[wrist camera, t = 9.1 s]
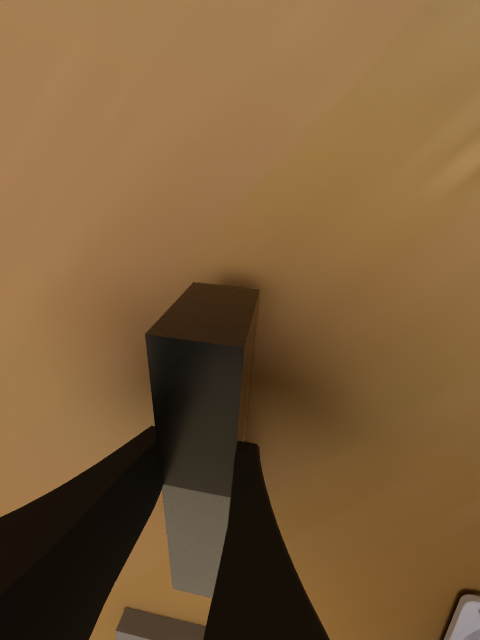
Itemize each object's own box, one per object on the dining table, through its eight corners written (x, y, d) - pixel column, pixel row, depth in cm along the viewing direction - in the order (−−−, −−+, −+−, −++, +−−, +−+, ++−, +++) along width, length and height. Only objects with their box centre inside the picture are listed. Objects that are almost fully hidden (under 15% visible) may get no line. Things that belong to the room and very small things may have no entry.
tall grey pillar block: (193, 282, 11) (145, 334, 7) (259, 289, 10) (244, 347, 7) (197, 503, 17) (172, 588, 13) (238, 511, 17) (224, 600, 13)
